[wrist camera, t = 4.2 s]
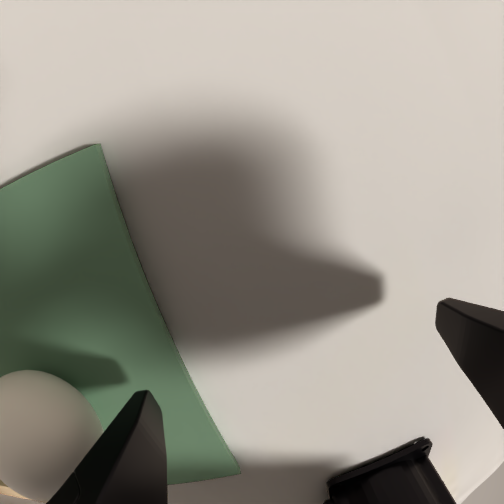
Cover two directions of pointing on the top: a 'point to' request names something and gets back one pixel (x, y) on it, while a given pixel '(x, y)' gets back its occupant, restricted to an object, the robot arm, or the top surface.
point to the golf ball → (42, 432)
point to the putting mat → (95, 309)
